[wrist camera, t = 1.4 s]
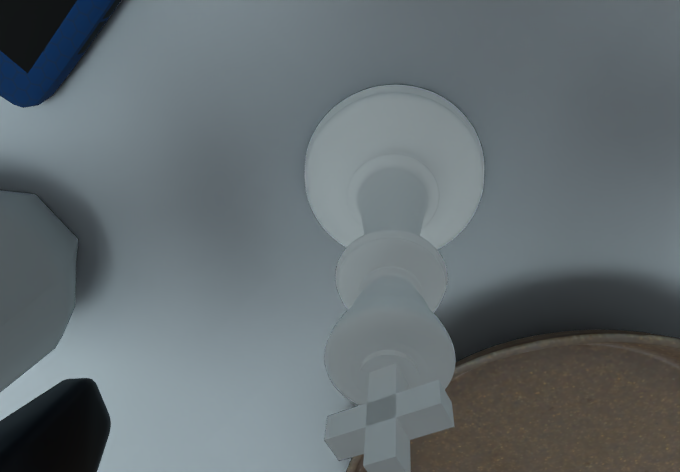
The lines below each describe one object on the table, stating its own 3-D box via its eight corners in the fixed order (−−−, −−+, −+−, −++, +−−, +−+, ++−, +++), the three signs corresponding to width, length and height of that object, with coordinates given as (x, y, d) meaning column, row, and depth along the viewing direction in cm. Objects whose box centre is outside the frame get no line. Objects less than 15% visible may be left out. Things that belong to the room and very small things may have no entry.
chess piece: (272, 134, 16) (107, 391, 7) (440, 49, 14) (511, 233, 5) (354, 274, 17) (310, 621, 9) (510, 212, 16) (649, 549, 7)
